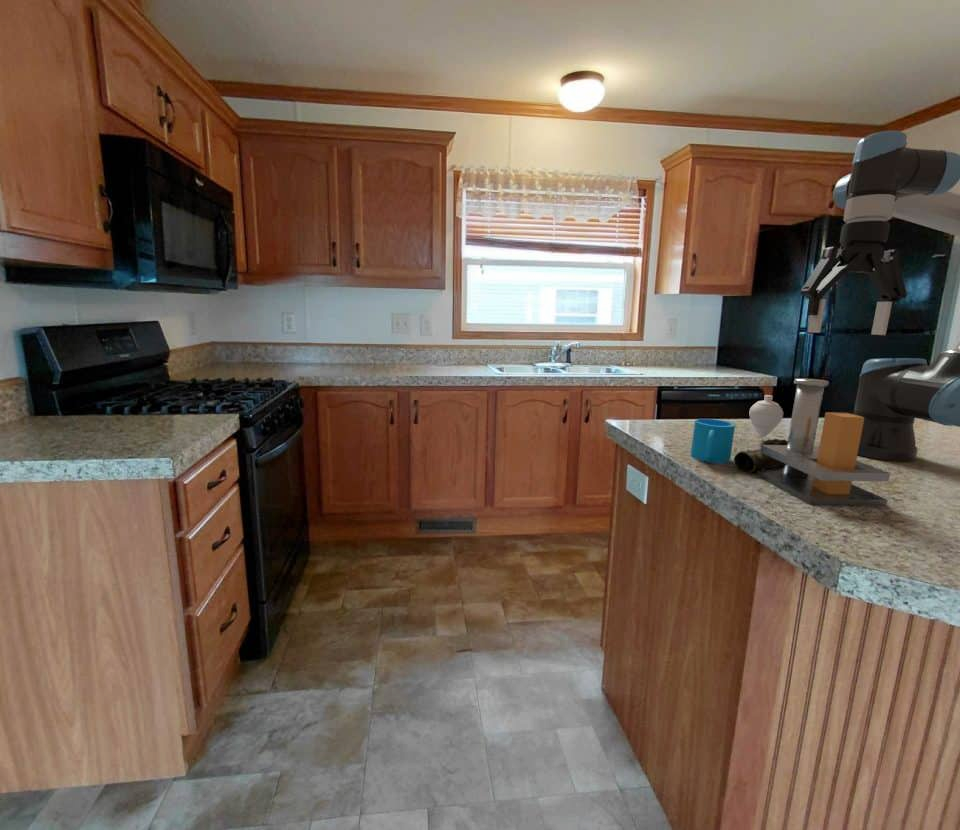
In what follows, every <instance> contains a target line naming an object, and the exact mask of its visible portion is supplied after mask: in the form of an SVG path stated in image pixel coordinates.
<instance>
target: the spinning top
mask: <svg viewBox="0 0 960 830" xmlns="http://www.w3.org/2000/svg"><path fill="white" fill-rule="evenodd" d="M773 397H774V396H773V395H769V394H765V395H764V398H763V399H764V400H758V401H757V402H755V403H754V404H752V406H751V407H750V408H749V412H748V413H749V419H750V421H751V424H752V426H753V427H754V429H755V431H756V433H757V434H758V435H759V437H760V438H761V439H760V441H761V440H763V441H764V438H765V437H767V436H768V435H769V434H770V433H771V432H773V430H774V429H776V427H778V425H779V424H780V423H781V422H782V420H783V417H784V411H783V408H782V407H781V406H780V404H779V403H777V402H775V401H774V400H773Z"/></svg>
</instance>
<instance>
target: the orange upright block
mask: <svg viewBox="0 0 960 830" xmlns="http://www.w3.org/2000/svg"><path fill="white" fill-rule="evenodd" d="M864 418H865V417H861V416H857V415H853V413H849V412H833V411H832V412H829V411H828V412H827V411H826V412H825V414H824V419H823V425H822V431H821V437H820V441H819V445H818V446H819V452H818V457H817V463H818V464H820V465H823V466H825V467H827V468H830V469H855V464H856V461H857V457H858V455H857V453H858V448H859V443H860V438H861V433H862V428H863V423H864ZM851 484H852V485H853V481H827V480H819V479H817V478H815V477H814V480H813V485H812V486H813V487H815V488H817V489H819V490H821V491H823V492H825V493H827V494H850V489H851Z"/></svg>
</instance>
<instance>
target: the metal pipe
mask: <svg viewBox="0 0 960 830" xmlns="http://www.w3.org/2000/svg"><path fill="white" fill-rule="evenodd" d="M787 443H788V440H786V439H785V438H784V439H777V438H774V439H773V438H772V439H770V438H769V439H766V440H765V441H763V444H762V445H787ZM760 450H761V448H760V449H754V450H746V451H744V450H743V451H739V452H738V453H736V454H735V455H734V457H733V462H734V463H733V464H734V465H735V467H736V468H737V470H739V471H740V472H743V473H746V474H751V473H755V472H756V470H768V469H770V468H774V467H784V463H783V462H781V461H779V460H776V459H774V458H772V457H770V456H768V455H766V454H764V453H761V452H760Z"/></svg>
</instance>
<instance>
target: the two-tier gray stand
mask: <svg viewBox="0 0 960 830" xmlns="http://www.w3.org/2000/svg"><path fill="white" fill-rule="evenodd" d="M793 384H795V385H796V389H795V396H794V403H793V406H792V407H793V408H792V414H791V421H790V425H789V431H788V437H787V441H788V443H787V445H763V444H761V445H760V449H761V450H760V449H759V450H760V452H761V453H764V454H766V455H768V456H770V457H772V458H774V459H776V460H779V461H781V462H783V463H784V466H782V467H783V468H782V470H778V469H775V470H774V469H763V470H756V471H755V472H754V473H755V474H754V475H755V476H757V477H759V478H760V479H763V480H764V481H766V482H768V483H770V484H772V485H773V486H775V487H777V488H779V489H781V490H782V491H784V492H786V493H788V494H790V495H791V496H793V497H795V498H797V499H798V500H801V501H803V502H804V503H806V504H808V505H832V506H833V505H836V506H838V505H839V506H841V505H842V506H843V505H844V506H850V505H852V506H887V503H888V499H886V498H884V497H881V496H879V495H878V494H874V492H873V493H872V492H870V491H868V490H866V489H863V488H861V487H860V486H857V485H855V484H853V483H852V484H851V489H850V494H827V493H825V492H823V491H821V490H819V489H817V488H815V487H813V486H812V485H813V480H814V477H815V478H817V479H819V480H827V481H852V482H882V483H883V482H884V483H885V482H889V481H890V476H891V473H890V472H888V471H885V470H883V469H880V468H878V467H874V466H871V465H870V464H867V463H864V462H861V461H858V460H856V464H855V469H830V468H827V467H825V466H823V465H820V464H818V463H817V457H818V452H819V446H820V445H815V440H816V436H817V429H818V425H819V417H820V412H821V407H822V402H823V395H824V391H825V390H824V389H825V387H827V388H828V387H829V384H830V383H829V380H824V379H816V378H799V377H798V378H797V377H796V378H795V377H794V380H793Z"/></svg>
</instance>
